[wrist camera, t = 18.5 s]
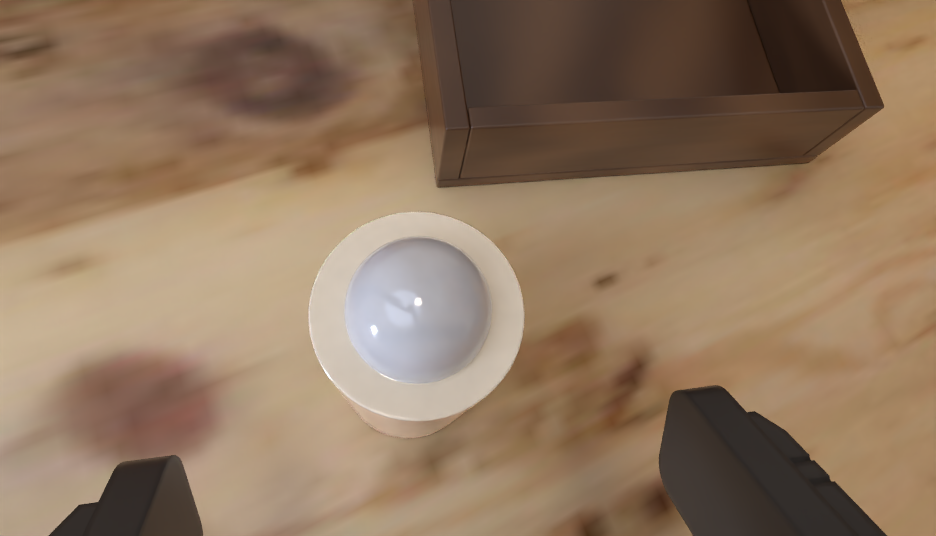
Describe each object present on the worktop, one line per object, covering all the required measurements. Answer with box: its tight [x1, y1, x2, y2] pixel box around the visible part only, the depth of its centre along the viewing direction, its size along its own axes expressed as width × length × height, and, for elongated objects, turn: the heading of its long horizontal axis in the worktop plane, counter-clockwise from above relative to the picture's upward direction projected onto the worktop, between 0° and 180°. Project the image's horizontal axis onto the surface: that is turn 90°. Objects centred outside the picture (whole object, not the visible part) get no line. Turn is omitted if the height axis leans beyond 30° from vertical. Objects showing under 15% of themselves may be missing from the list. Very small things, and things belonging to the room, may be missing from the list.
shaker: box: [308, 212, 525, 438], centre depth 15 cm, size 4×4×10 cm
